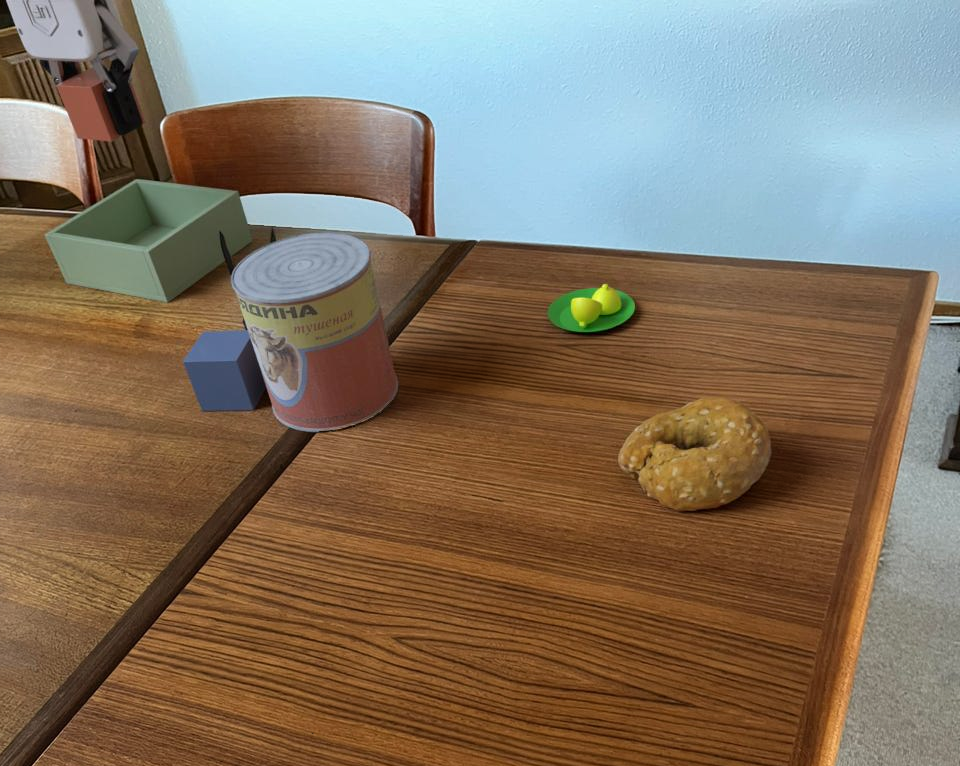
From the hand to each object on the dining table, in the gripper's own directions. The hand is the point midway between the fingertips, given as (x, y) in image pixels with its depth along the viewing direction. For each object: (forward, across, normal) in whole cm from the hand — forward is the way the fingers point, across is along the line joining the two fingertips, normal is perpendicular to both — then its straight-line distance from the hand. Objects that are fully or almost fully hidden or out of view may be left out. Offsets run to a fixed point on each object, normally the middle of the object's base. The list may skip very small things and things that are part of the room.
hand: (110, 126), depth 99 cm
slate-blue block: (+15, +27, -19) cm, 36 cm away
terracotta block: (0, 0, 0) cm, 0 cm away
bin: (+14, 0, 0) cm, 14 cm away
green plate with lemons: (+15, +52, +3) cm, 54 cm away
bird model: (+15, +21, -7) cm, 26 cm away
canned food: (+15, +36, -16) cm, 42 cm away
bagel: (+15, +69, -16) cm, 72 cm away
